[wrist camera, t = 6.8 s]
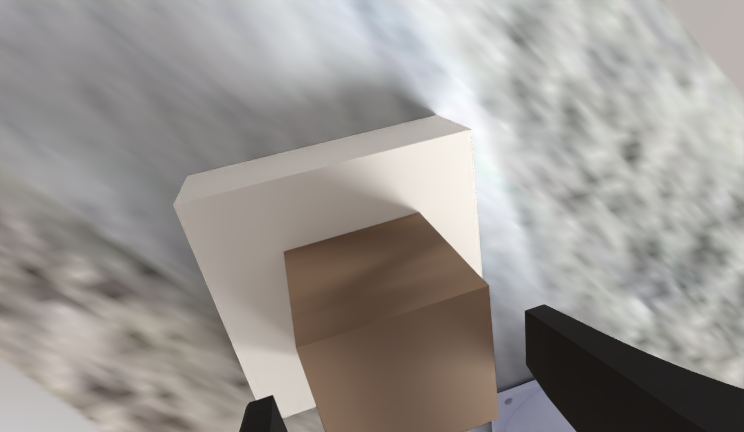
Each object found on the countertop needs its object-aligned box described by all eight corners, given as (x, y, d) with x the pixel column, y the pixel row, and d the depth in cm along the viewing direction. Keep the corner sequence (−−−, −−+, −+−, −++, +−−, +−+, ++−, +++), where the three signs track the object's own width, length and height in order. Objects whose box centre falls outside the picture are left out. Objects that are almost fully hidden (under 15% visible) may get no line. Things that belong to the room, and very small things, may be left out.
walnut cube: (419, 212, 15) (488, 285, 10) (435, 319, 17) (499, 418, 13) (283, 251, 14) (295, 348, 10) (318, 358, 16) (341, 478, 12)
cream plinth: (432, 113, 17) (471, 129, 14) (453, 302, 22) (487, 347, 19) (188, 172, 16) (172, 204, 13) (264, 364, 20) (266, 424, 17)
